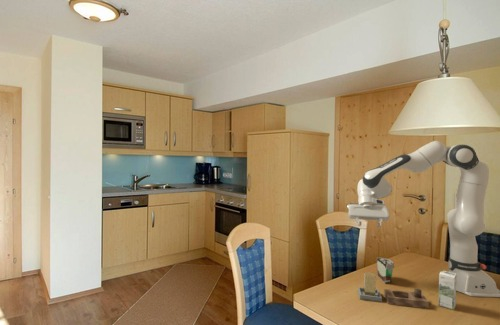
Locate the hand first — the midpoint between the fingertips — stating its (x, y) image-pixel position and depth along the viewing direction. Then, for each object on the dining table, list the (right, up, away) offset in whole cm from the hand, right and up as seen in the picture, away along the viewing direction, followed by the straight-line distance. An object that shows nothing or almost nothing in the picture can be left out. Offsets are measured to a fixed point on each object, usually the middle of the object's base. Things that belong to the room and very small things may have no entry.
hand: (369, 226), depth 150 cm
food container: (+11, -30, +4) cm, 32 cm away
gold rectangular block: (-6, -29, -15) cm, 33 cm away
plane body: (+8, -30, -19) cm, 37 cm away
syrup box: (+25, -30, -22) cm, 45 cm away
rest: (-6, -30, -15) cm, 34 cm away
